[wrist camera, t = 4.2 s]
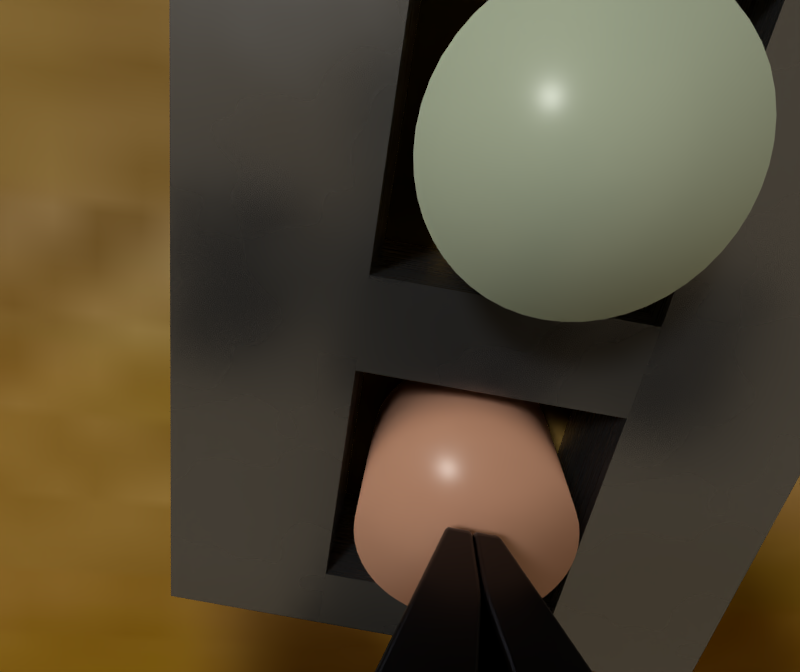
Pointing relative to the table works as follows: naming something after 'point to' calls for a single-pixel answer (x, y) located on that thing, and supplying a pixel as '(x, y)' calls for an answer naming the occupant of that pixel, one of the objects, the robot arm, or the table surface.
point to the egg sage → (593, 149)
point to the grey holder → (447, 345)
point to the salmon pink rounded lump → (462, 485)
